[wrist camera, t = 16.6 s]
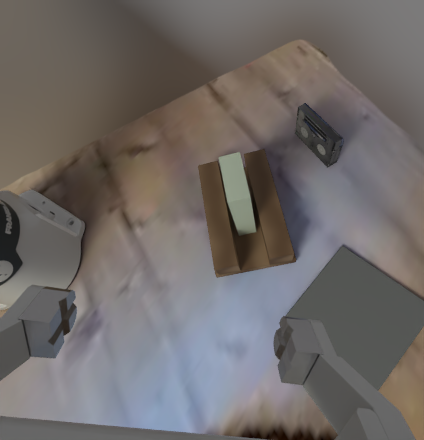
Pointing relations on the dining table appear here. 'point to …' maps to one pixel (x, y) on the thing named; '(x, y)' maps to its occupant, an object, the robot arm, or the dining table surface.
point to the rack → (263, 216)
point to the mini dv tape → (318, 135)
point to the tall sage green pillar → (237, 193)
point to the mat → (362, 315)
